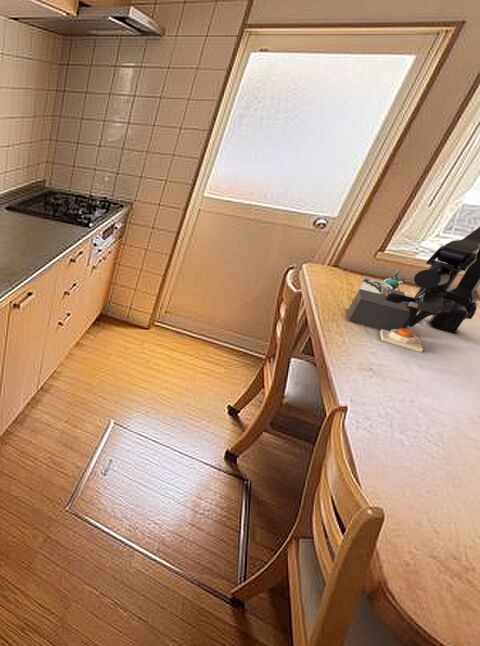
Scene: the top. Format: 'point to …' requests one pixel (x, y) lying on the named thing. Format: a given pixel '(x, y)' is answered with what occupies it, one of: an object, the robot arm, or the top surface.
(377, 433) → the top surface
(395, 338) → the block
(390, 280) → the frog figurine
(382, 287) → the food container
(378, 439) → the top surface
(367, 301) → the charcoal rectangular box
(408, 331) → the button
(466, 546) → the top surface
